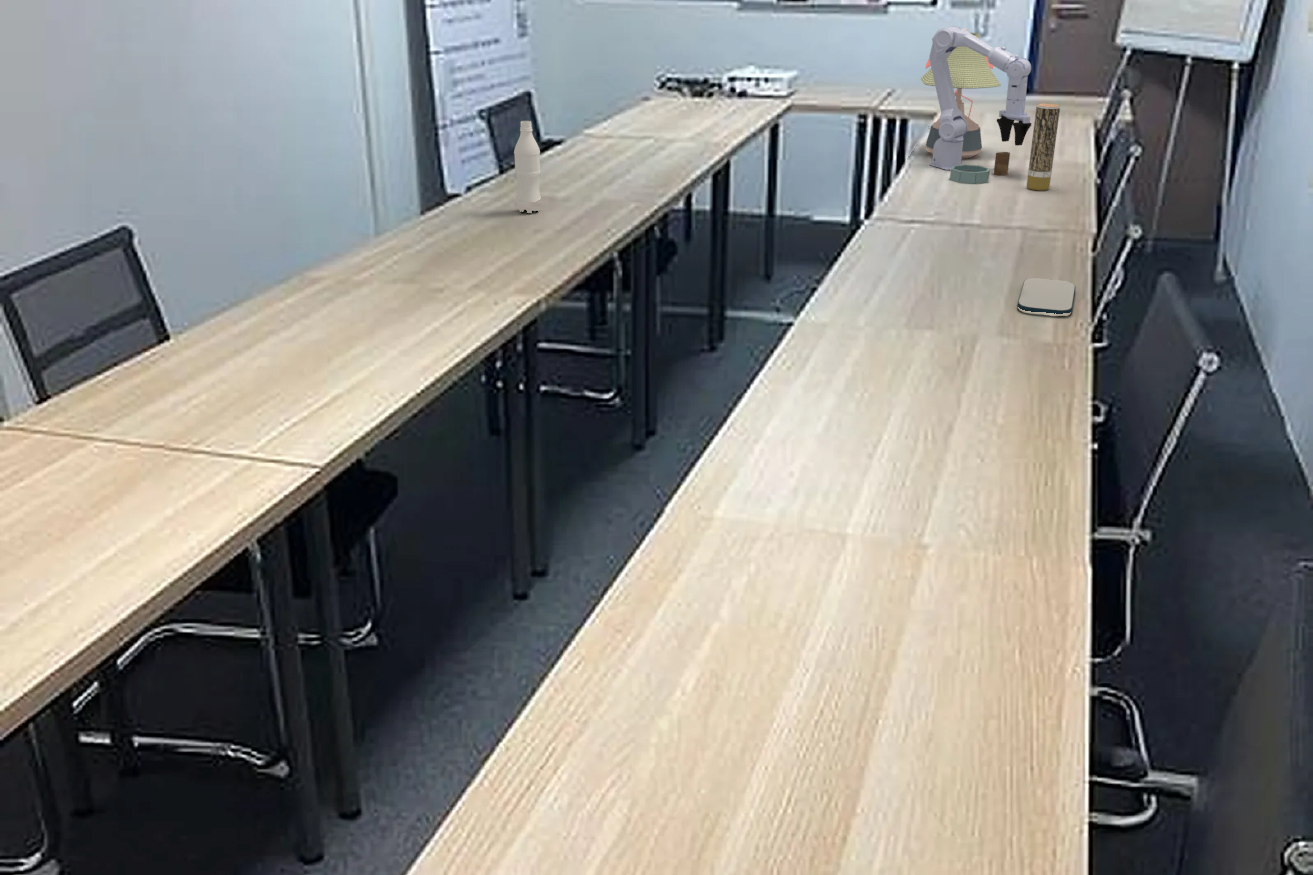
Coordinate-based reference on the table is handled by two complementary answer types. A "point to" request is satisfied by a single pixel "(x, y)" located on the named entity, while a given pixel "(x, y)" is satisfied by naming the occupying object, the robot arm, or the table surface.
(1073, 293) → the external hard drive
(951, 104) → the robot arm
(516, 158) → the water bottle
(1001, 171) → the wooden block
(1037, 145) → the bark patterned cylinder
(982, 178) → the bowl
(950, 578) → the table surface
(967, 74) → the desk lamp
